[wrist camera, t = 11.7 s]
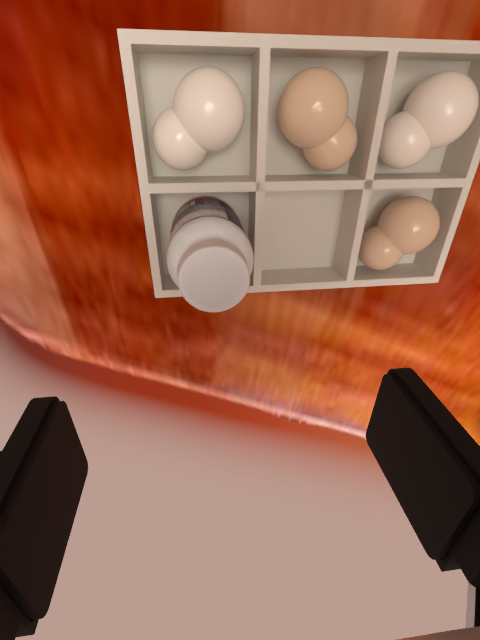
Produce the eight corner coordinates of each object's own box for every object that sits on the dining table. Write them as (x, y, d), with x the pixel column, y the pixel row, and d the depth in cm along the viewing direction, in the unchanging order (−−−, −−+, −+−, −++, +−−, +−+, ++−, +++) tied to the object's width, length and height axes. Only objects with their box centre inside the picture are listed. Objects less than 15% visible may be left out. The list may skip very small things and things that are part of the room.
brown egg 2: (399, 178, 26) (433, 189, 23) (428, 213, 28) (464, 229, 24) (339, 240, 29) (360, 260, 25) (369, 269, 30) (394, 292, 27)
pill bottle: (245, 254, 28) (268, 313, 20) (181, 267, 28) (178, 332, 20) (233, 187, 25) (255, 223, 17) (163, 201, 25) (149, 244, 17)
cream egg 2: (432, 56, 22) (479, 46, 19) (459, 111, 24) (507, 112, 21) (355, 134, 24) (383, 138, 21) (385, 179, 26) (416, 190, 23)
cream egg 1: (209, 51, 21) (213, 39, 17) (253, 116, 23) (264, 117, 19) (139, 128, 22) (128, 131, 19) (185, 181, 25) (184, 194, 21)
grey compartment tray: (476, 51, 23) (520, 42, 20) (413, 266, 31) (438, 282, 28) (127, 41, 21) (116, 28, 17) (158, 278, 29) (155, 298, 26)
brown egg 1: (257, 104, 23) (272, 104, 19) (311, 52, 21) (337, 41, 18) (308, 181, 26) (329, 193, 22) (357, 139, 25) (387, 144, 21)
